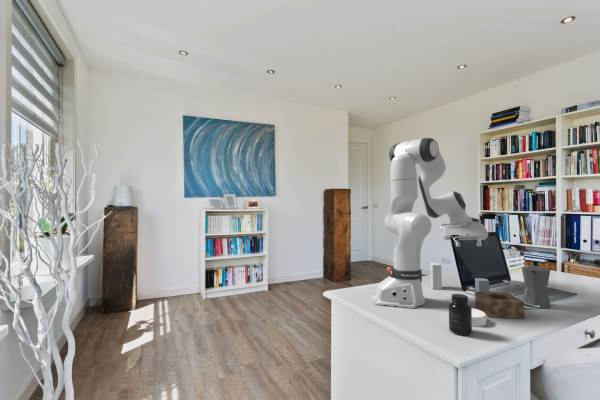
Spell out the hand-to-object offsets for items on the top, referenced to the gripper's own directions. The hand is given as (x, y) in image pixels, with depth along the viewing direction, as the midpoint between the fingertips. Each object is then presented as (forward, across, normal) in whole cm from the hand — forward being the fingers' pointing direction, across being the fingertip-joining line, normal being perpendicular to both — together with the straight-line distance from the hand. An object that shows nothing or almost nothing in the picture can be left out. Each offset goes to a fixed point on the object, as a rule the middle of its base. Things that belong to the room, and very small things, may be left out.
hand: (469, 245), depth 145 cm
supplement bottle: (+49, -21, -18) cm, 56 cm away
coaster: (+42, -14, -11) cm, 46 cm away
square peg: (+25, 0, +6) cm, 25 cm away
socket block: (+35, 0, -4) cm, 35 cm away
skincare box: (+12, -14, +19) cm, 26 cm away
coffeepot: (+27, +19, +4) cm, 34 cm away
